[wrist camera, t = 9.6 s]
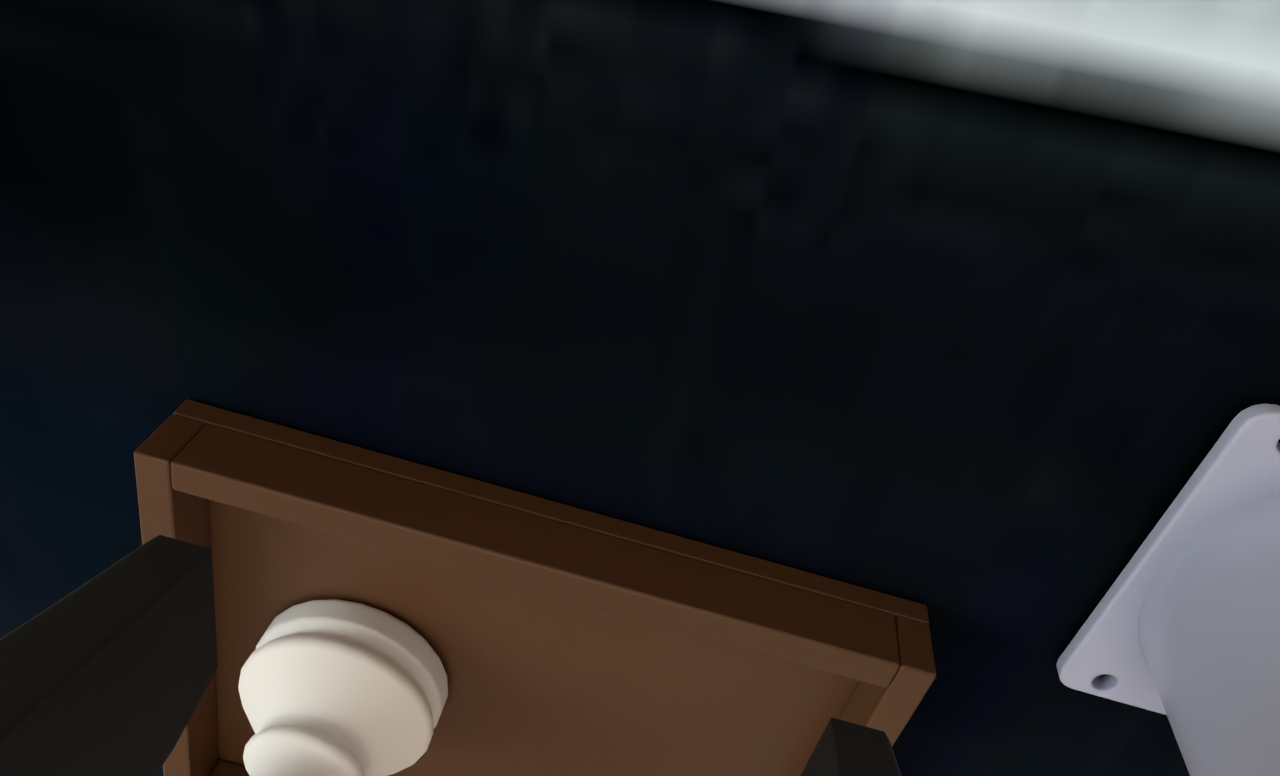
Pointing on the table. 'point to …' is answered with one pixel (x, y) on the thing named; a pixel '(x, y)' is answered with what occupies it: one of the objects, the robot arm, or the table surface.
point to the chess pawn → (340, 693)
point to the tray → (524, 613)
